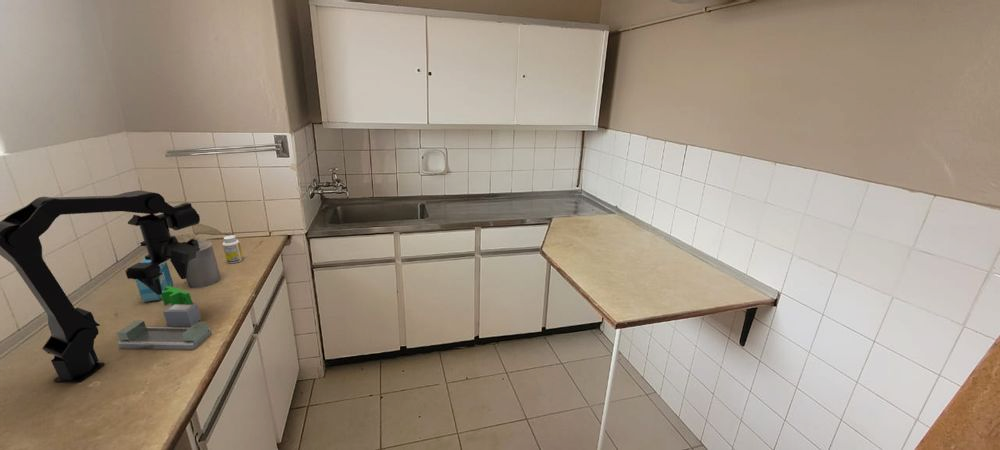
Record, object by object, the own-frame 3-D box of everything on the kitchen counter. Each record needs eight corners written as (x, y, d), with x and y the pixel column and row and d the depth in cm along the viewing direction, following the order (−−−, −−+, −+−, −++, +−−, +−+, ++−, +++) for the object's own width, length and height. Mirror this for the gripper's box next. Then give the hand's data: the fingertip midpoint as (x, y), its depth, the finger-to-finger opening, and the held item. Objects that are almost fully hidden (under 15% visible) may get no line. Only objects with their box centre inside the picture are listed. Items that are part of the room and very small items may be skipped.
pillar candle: (187, 279, 142) (175, 241, 137) (220, 272, 148) (210, 235, 143) (188, 291, 135) (176, 251, 130) (222, 282, 141) (211, 244, 135)
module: (191, 326, 116) (186, 311, 114) (167, 326, 116) (162, 310, 114) (201, 319, 120) (196, 303, 118) (178, 318, 120) (173, 303, 118)
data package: (160, 301, 129) (149, 268, 125) (143, 304, 127) (131, 270, 123) (173, 284, 139) (164, 253, 135) (158, 286, 138) (147, 255, 134)
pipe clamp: (159, 303, 128) (154, 290, 127) (171, 297, 131) (167, 285, 130) (180, 310, 124) (176, 297, 122) (193, 304, 127) (189, 292, 126)
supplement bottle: (236, 257, 161) (231, 233, 157) (246, 259, 159) (241, 235, 155) (223, 262, 156) (217, 238, 152) (233, 264, 154) (227, 240, 151)
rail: (193, 349, 106) (189, 335, 105) (119, 348, 106) (114, 334, 105) (211, 334, 113) (207, 320, 111) (142, 332, 113) (137, 319, 111)
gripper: (160, 249, 100) (176, 303, 106) (209, 224, 118) (221, 271, 123) (115, 249, 100) (133, 303, 105) (171, 224, 117) (184, 271, 123)
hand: (172, 286), depth 114 cm, fingers open, 9 cm apart
